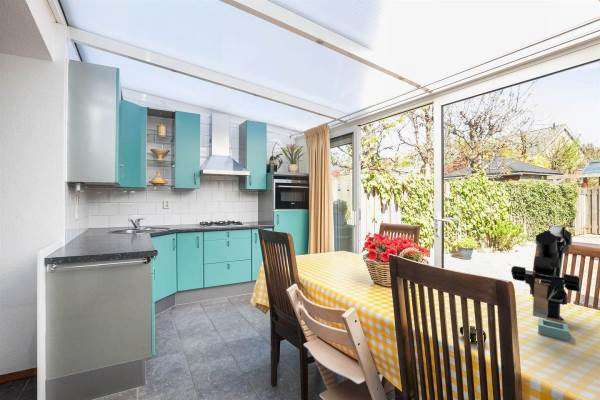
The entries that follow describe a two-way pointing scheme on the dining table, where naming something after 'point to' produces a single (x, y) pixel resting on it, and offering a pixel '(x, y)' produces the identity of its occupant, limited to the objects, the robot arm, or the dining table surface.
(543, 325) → the square teal collar
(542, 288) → the square wooden post
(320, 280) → the dining table surface
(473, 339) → the tape measure
